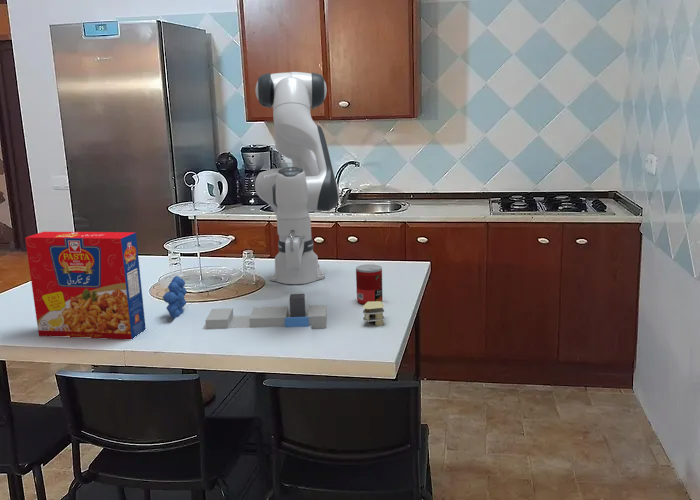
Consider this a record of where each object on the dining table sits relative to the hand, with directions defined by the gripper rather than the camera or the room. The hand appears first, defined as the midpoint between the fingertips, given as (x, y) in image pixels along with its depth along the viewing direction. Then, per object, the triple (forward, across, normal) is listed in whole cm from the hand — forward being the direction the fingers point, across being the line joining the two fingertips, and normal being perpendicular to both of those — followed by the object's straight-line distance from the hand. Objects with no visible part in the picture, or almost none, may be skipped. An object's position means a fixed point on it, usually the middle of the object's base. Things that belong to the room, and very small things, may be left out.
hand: (296, 276), depth 193 cm
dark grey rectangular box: (+13, 0, 0) cm, 13 cm away
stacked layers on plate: (+14, -2, -21) cm, 26 cm away
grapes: (+14, +10, +37) cm, 41 cm away
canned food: (+14, +18, -21) cm, 31 cm away
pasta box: (+14, -2, +57) cm, 59 cm away
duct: (+14, 0, +9) cm, 16 cm away
